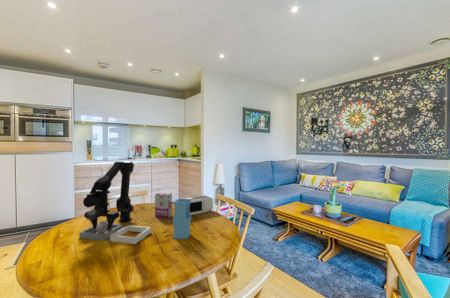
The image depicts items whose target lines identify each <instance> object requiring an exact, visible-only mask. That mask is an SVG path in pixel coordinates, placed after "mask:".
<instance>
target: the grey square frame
mask: <svg viewBox="0 0 450 298" xmlns="http://www.w3.org/2000/svg"><path fill="white" fill-rule="evenodd" d="M97 225H98V223H97ZM122 228H123V224H119V223H113V224H112V227H111V229H110V230H109V231H108V228H107V231H106V232H105V233H103V234H99V233H97V231H96V229H94V228H93V225H92V226H90V227H88V228H85V229H84V230H81V231H80V232H79V238H80V239H87V240H95V241H96V240H97V241H105V240H107V239H108V238H109V239H110V235H112V234H114V233H115V232H117V231H119V230H121V229H122Z"/></svg>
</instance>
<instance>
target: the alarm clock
mask: <svg viewBox="0 0 450 298" xmlns="http://www.w3.org/2000/svg"><path fill="white" fill-rule="evenodd" d="M181 199H191V202H190V207H189V210H190V214H191V216H195V215H200V214H204V213H208V212H211V211H212V210H213V209H214V199H213V197H210V196H208V195H198V196H192V197H189V196H188V197H183V198H181ZM210 210H211V211H210Z"/></svg>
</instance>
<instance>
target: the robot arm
mask: <svg viewBox="0 0 450 298" xmlns="http://www.w3.org/2000/svg"><path fill="white" fill-rule="evenodd" d="M134 167H135V164H134V163H133V161H114V163H113V165H112V166H111V167H110V168H109V169H108V171H107V172H106V173H105V174H104V175H103V176H102V177H99V178H98V179H97V180H96V181H95V182H94V183H93V186H92V187H91V190H90V191H89V193H88V194H86V197H84V199H83V201H82V203H83V206H84V207H86V208H92V207H93V209H90V210H89V211H86V212H85V213H84V214H83V215H84V218H85V219H86V220H88V221H90V223H91V225H92V226H93V228H94V229H96V227H97V224H98V220H99V218H101V217H104V218H105V217H106V218H105V221H106V222H107V223H108V229H107V232H108V231H110V230H111V227H112V224H114V222H115V221H116V219H118V218H119V220H118V221H117V222H122V223H128V222H129V221H132V220H133V217H131V213H132V212H133V211H134V208H135V207H134V206H133V205H132V203H131V201H132V199H131V198H130V196H129V193H130V183H131V182H130V181H131V174H132V173H133V171H134ZM119 172H120V173H121V185H120V194H119V198H117V199H116V201H115V202H116V204H115V206H116V211H111V212H110V210H109V209H108V207H109V205H110V202H108V201H109V199H108V198H109V197H108V195H109V194H111V192H110V191H109V189H110V187H111V186H112V181H113V179H115V177H116V176H117V175H118V173H119Z"/></svg>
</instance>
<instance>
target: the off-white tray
mask: <svg viewBox="0 0 450 298" xmlns="http://www.w3.org/2000/svg"><path fill="white" fill-rule="evenodd" d="M128 232H136V233H139V234H138V235H136V236H129V235H128V236H126V235H124V234H126V233H128ZM151 233H152V227H151V226H143V225H142V226H140V225H138V226H137V225H129V224H128V225H126V226H124V227H122V229H121V230H119V231H117V232H115V233H114V234H112V235H110V237H109V241H110V242H113V243H114V242H115V243H123V244H133V245H136V244H138V242H141V240H143V239H144V238H145V237H146V236H148V235H149V234H151Z"/></svg>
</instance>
